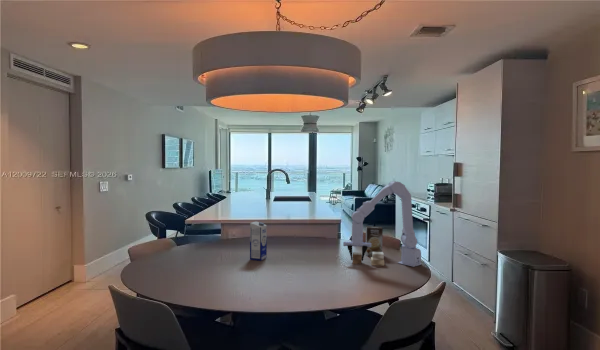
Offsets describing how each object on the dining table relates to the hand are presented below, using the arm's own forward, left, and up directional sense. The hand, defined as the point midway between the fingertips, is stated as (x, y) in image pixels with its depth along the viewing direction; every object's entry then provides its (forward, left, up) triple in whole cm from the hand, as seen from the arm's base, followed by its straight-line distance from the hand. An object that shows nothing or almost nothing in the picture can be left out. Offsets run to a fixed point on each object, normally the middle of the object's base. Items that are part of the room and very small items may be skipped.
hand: (357, 260), depth 192 cm
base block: (-8, -7, -2) cm, 11 cm away
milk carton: (+40, +36, -2) cm, 53 cm away
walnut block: (0, 0, -2) cm, 2 cm away
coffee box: (+6, -22, -2) cm, 22 cm away
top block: (-8, -7, +1) cm, 11 cm away
